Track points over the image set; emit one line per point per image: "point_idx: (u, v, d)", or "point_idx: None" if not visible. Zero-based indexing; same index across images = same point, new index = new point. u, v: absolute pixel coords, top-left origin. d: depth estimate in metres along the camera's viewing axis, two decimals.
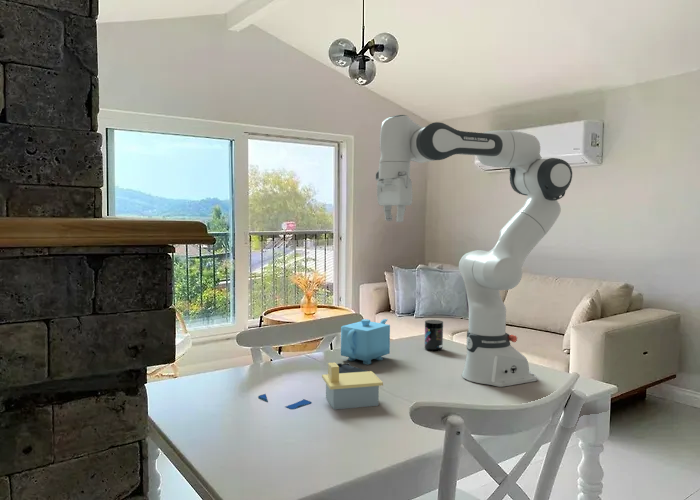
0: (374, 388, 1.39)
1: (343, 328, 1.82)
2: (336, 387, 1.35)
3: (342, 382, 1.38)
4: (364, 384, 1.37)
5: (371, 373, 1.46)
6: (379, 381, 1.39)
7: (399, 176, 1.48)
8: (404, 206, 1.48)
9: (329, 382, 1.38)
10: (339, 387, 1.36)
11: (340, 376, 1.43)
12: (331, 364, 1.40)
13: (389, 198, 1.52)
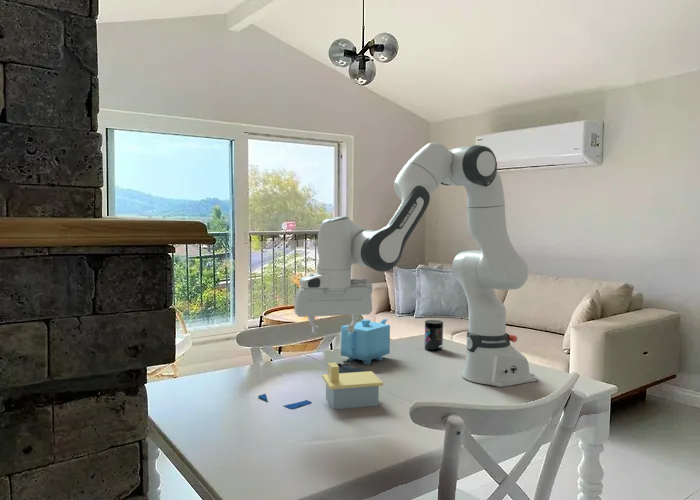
0: (374, 388, 1.39)
1: (343, 328, 1.82)
2: (336, 387, 1.35)
3: (342, 382, 1.38)
4: (364, 384, 1.37)
5: (371, 373, 1.46)
6: (379, 381, 1.39)
7: (353, 284, 1.39)
8: None
9: (329, 382, 1.38)
10: (339, 387, 1.36)
11: (340, 376, 1.43)
12: (331, 364, 1.40)
13: (339, 308, 1.37)
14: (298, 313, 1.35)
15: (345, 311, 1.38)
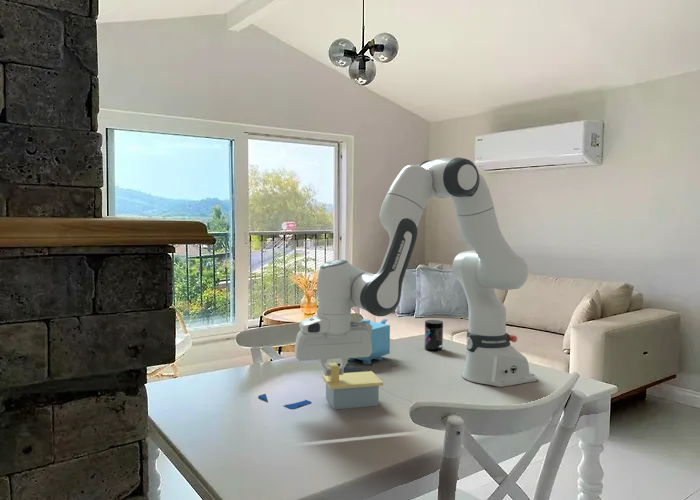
0: (374, 388, 1.39)
1: None
2: (336, 387, 1.36)
3: (342, 382, 1.38)
4: (364, 384, 1.37)
5: (371, 373, 1.46)
6: (379, 381, 1.39)
7: (353, 326, 1.40)
8: None
9: (329, 382, 1.38)
10: (339, 387, 1.36)
11: (340, 376, 1.43)
12: (331, 364, 1.40)
13: (339, 351, 1.38)
14: (298, 358, 1.36)
15: (345, 354, 1.39)
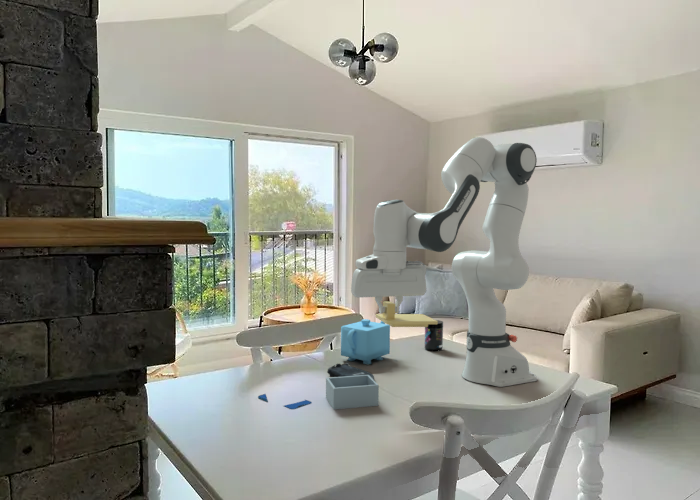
0: (374, 388, 1.39)
1: (343, 328, 1.82)
2: (393, 322, 1.38)
3: (398, 319, 1.41)
4: (419, 322, 1.40)
5: (423, 315, 1.49)
6: (433, 320, 1.42)
7: (408, 265, 1.43)
8: None
9: (385, 318, 1.41)
10: (396, 323, 1.38)
11: None
12: (387, 302, 1.43)
13: (395, 289, 1.41)
14: (356, 294, 1.38)
15: (401, 292, 1.41)
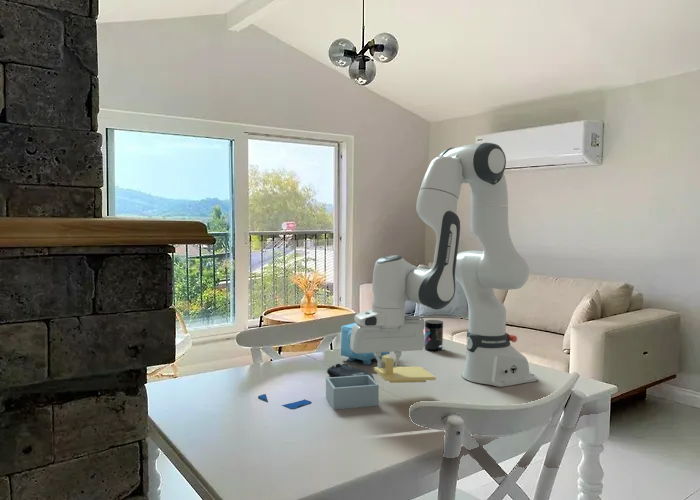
0: (374, 388, 1.39)
1: (343, 328, 1.82)
2: (391, 379, 1.39)
3: (396, 374, 1.42)
4: (418, 378, 1.41)
5: (421, 368, 1.50)
6: (431, 376, 1.43)
7: (406, 320, 1.44)
8: None
9: (383, 374, 1.42)
10: (394, 379, 1.39)
11: (392, 369, 1.47)
12: (385, 357, 1.44)
13: (393, 344, 1.42)
14: (355, 350, 1.39)
15: (399, 347, 1.42)
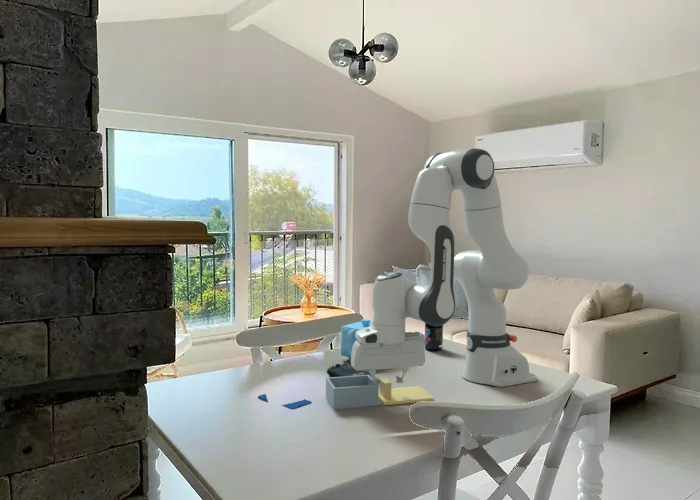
0: (374, 388, 1.39)
1: (343, 328, 1.82)
2: (390, 403, 1.40)
3: (394, 398, 1.42)
4: (416, 400, 1.42)
5: (420, 388, 1.50)
6: (430, 396, 1.43)
7: (407, 337, 1.44)
8: None
9: (382, 398, 1.42)
10: (392, 403, 1.40)
11: (391, 391, 1.48)
12: (383, 380, 1.44)
13: (394, 361, 1.42)
14: (356, 367, 1.40)
15: (400, 364, 1.43)
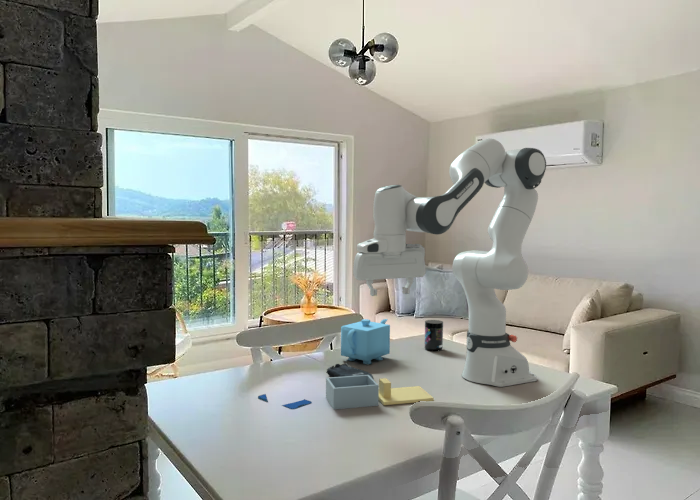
0: (374, 388, 1.39)
1: (343, 328, 1.82)
2: (389, 403, 1.40)
3: (394, 398, 1.42)
4: (416, 400, 1.41)
5: (419, 388, 1.50)
6: (430, 396, 1.43)
7: (407, 248, 1.48)
8: None
9: (381, 398, 1.42)
10: (392, 403, 1.40)
11: (390, 391, 1.47)
12: (382, 380, 1.44)
13: (395, 271, 1.46)
14: (358, 277, 1.43)
15: (401, 274, 1.46)
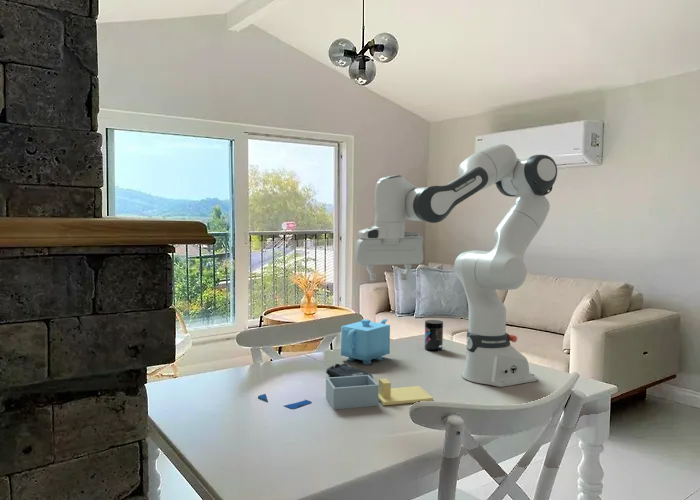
0: (374, 388, 1.39)
1: (343, 328, 1.82)
2: (389, 403, 1.39)
3: (394, 398, 1.42)
4: (415, 400, 1.41)
5: (419, 388, 1.50)
6: (429, 396, 1.43)
7: (406, 236, 1.55)
8: None
9: (381, 398, 1.42)
10: (392, 403, 1.40)
11: None
12: (382, 380, 1.44)
13: (394, 257, 1.53)
14: (359, 261, 1.50)
15: (400, 260, 1.53)
